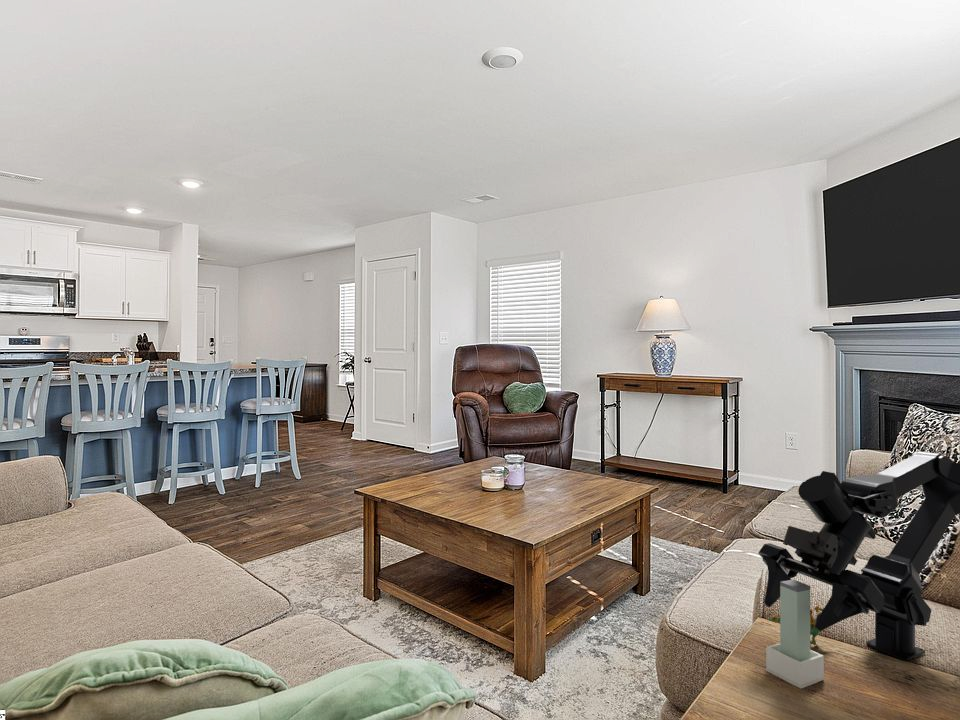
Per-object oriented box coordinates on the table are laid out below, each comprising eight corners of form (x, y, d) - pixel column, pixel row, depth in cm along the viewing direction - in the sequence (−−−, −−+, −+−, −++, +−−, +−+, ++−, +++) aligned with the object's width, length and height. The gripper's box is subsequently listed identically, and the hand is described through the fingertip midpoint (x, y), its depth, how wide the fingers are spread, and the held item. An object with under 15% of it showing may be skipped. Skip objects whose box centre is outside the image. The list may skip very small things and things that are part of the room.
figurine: (836, 648, 98) (836, 601, 99) (773, 650, 97) (773, 603, 97) (824, 640, 101) (824, 595, 102) (762, 642, 100) (762, 596, 100)
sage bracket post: (793, 665, 91) (793, 579, 92) (810, 674, 88) (810, 585, 89) (780, 668, 90) (780, 581, 90) (797, 678, 87) (797, 588, 88)
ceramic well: (788, 662, 93) (788, 639, 93) (823, 679, 88) (823, 655, 88) (766, 670, 90) (766, 647, 91) (800, 688, 85) (800, 663, 85)
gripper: (766, 497, 100) (718, 566, 96) (871, 523, 83) (819, 609, 79) (797, 537, 103) (752, 605, 99) (906, 570, 86) (857, 655, 81)
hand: (790, 616), depth 89 cm, fingers open, 9 cm apart
